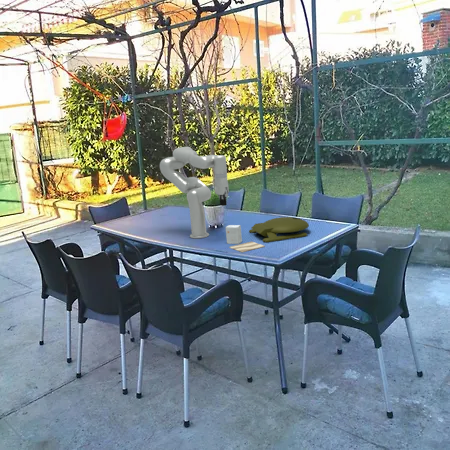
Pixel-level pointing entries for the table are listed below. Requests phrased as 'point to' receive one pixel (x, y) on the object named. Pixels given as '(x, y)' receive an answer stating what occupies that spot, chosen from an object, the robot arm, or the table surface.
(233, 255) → the table surface
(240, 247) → the board
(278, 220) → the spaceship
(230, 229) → the small box
